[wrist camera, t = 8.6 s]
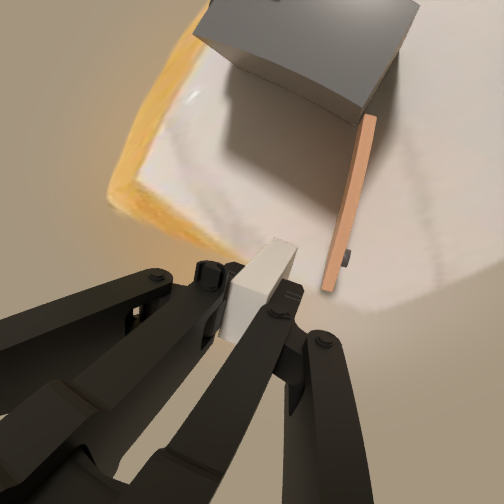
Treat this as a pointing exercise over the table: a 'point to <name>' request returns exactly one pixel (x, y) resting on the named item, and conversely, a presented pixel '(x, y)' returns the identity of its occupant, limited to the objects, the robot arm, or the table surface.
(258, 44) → the dark gray knobbed box
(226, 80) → the table surface
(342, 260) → the side door
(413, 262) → the table surface
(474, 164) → the table surface
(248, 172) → the table surface
